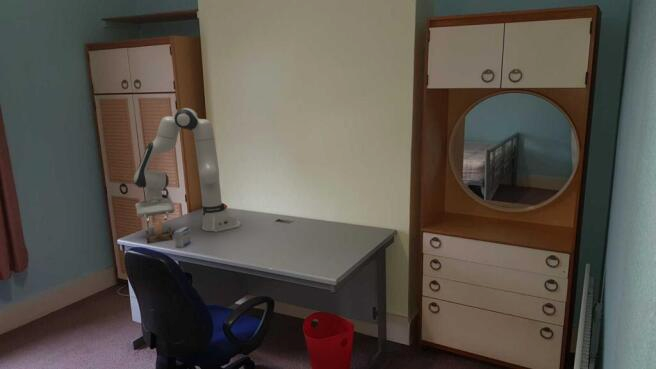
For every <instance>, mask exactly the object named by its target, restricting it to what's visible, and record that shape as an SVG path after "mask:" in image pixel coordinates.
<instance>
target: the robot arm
mask: <svg viewBox="0 0 656 369" xmlns="http://www.w3.org/2000/svg"><path fill="white" fill-rule="evenodd" d="M181 129H183V130H188V131H192V133H193V137H194V138H193V139H194V145H195V146H194V147H195V153H196V160H197V162H196V163H197V168H198V169H197V170H198V176H199V183H200V194H201V195H200V196H201V203H202V205H201V213H202V226H201V227H202V228H201V229H202V230H203V231H206V232H214V233H217V232H222V231H227V230H231V229H236V228H239V227H241V226H242V223H241V221H240V220H238V219H237V216H236V215H235V214H234V213H233V212H232V211H230V210H228V209H227V208H228V205H227V204H225V203H223V202H222V192H221V184H220V169H219V168H220V167H219V161H218V154H217V148H216V138H215V134H214V129H213V125H212V122H211V121H210V120H208V119H205V118H199V114H198V112H197V111H196V110H195V109H193V108H191V107H190V108H189V107H184V108H181V109H180V110H177V112H176V113H175V114H174V116H170V115H169V116H167V115H166V116H164V117H163V118H162V119H160V122H159V125H158V129H157V132H156V136H155V138H154V139H153V140H152V141H151V142H149V143H148V144H147V146H146V148H145V150H144V152H143V155H142V158H141V160H140V163H139V165H138V167H137V170H136V171H135V173H134V174H133V183H134V185H135V186H137V187H138V188H141V189H142V188H144V192H145V200H144V201H138V202H136V203H135V204H134V207H135V209H136V216H137V217H138V218H143V219H144V220H146V223H148V224H149V223H150V219H149V218H148V217H151V216H161V215H165V216H164V217H163V218H164V221H167V220H168V216H169V214H173V213H175V205H174V202H173V200H172V199H171V196H170V195H169V194H163V193H162V191H164V190H165V189H166V188H168V185H169V176H168V175H167V173H166V172H163V171H155V170H148V169H149V166H150V165H151V164H150V163H151V161H152V159H153V158H154V157H156V156H157V155H160V154H165V153H167V152H170V151H172V150H173V149H174V148H176V145H177V141H178V136H179V132H180V130H181Z"/></svg>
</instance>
